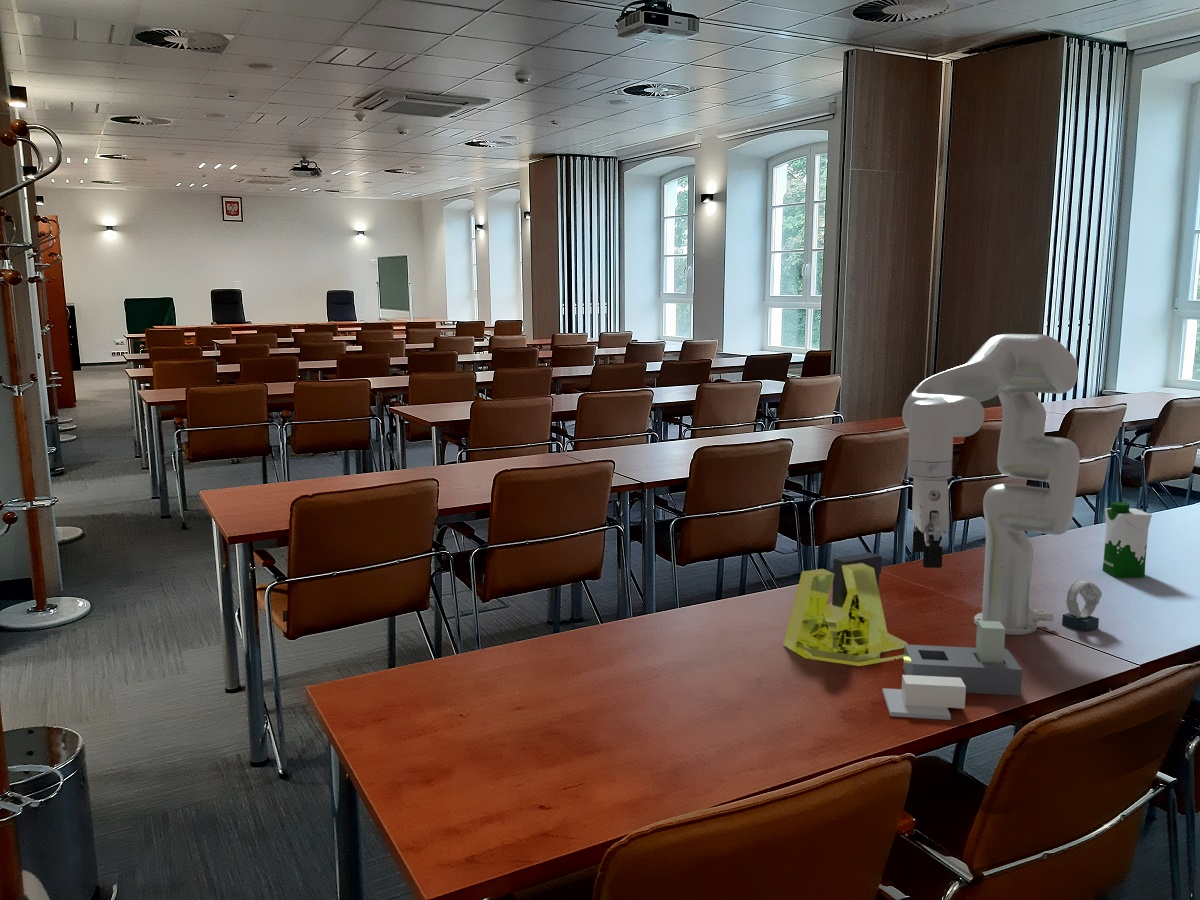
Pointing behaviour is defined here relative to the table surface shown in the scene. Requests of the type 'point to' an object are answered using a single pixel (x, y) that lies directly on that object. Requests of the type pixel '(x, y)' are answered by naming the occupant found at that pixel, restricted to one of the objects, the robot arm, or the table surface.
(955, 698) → the white plug
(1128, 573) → the milk carton
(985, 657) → the sage plug
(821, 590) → the crystal
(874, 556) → the black block
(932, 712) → the mat
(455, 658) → the table surface
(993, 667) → the plate
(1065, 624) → the watch
